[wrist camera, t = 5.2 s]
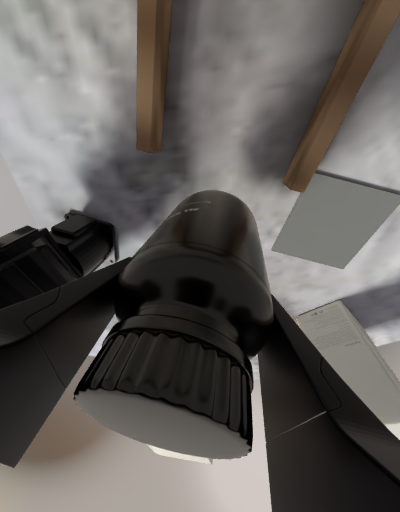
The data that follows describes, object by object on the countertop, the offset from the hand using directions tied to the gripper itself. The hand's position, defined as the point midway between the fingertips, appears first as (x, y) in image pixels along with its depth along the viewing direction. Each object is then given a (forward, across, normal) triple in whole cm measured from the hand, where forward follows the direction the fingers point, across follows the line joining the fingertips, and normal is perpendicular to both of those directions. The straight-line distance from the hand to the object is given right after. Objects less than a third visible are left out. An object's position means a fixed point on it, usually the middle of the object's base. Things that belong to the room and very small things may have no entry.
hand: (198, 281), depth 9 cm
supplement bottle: (+6, 0, 0) cm, 6 cm away
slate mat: (+13, -12, -1) cm, 18 cm away
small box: (+13, -21, +13) cm, 28 cm away
